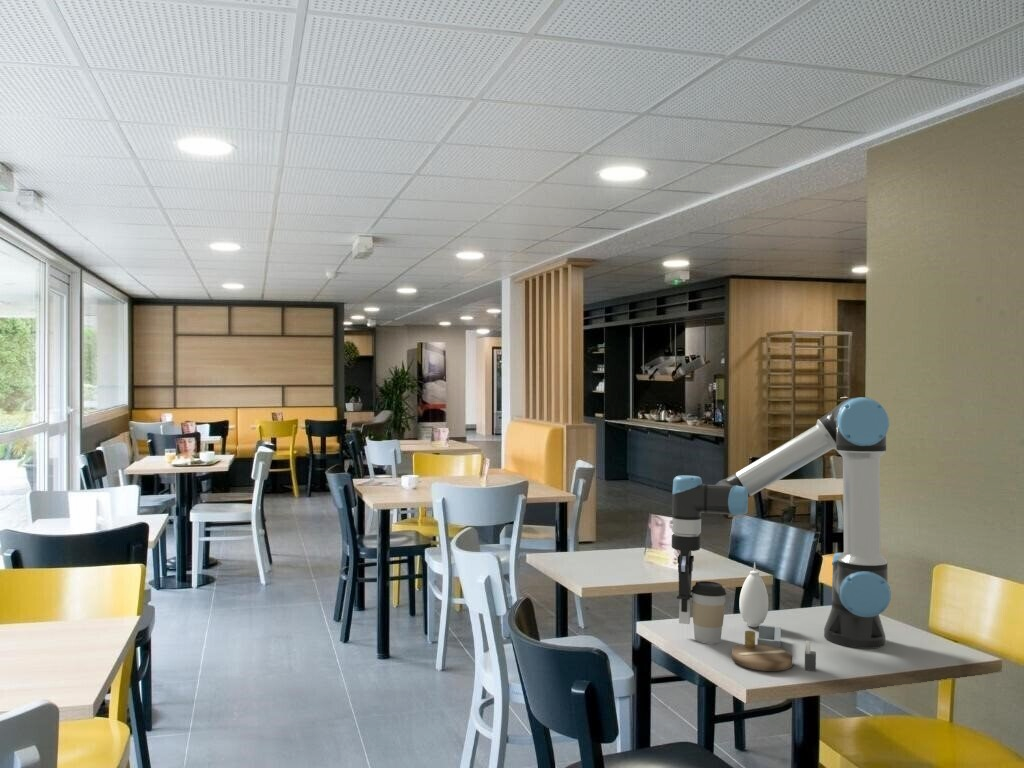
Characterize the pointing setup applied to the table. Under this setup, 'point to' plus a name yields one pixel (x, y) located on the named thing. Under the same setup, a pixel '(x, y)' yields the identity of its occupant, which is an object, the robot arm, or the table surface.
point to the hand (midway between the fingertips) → (684, 622)
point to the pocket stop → (769, 636)
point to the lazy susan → (760, 655)
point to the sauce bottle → (753, 599)
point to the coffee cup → (708, 611)
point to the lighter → (810, 658)
